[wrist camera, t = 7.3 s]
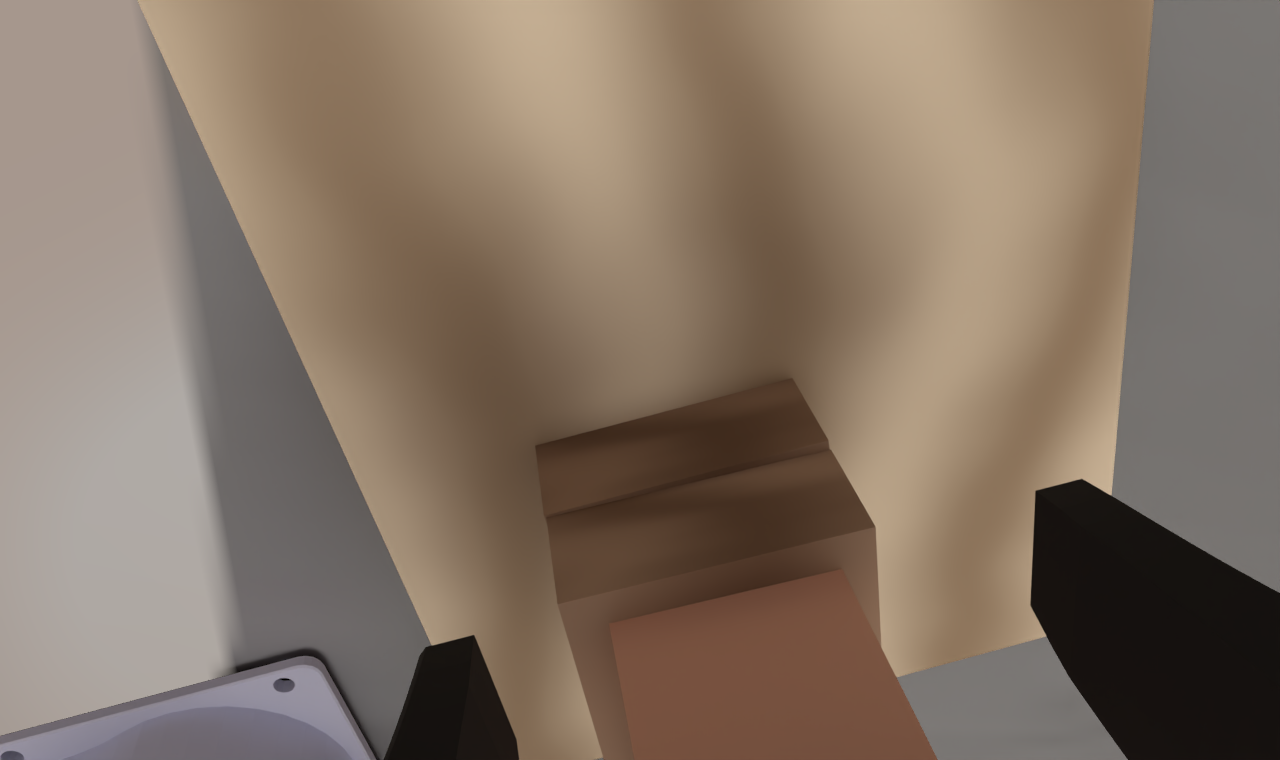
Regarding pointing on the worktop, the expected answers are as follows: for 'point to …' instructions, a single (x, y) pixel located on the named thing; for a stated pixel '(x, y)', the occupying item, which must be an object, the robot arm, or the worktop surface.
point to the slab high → (701, 559)
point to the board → (688, 267)
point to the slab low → (678, 447)
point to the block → (764, 679)
